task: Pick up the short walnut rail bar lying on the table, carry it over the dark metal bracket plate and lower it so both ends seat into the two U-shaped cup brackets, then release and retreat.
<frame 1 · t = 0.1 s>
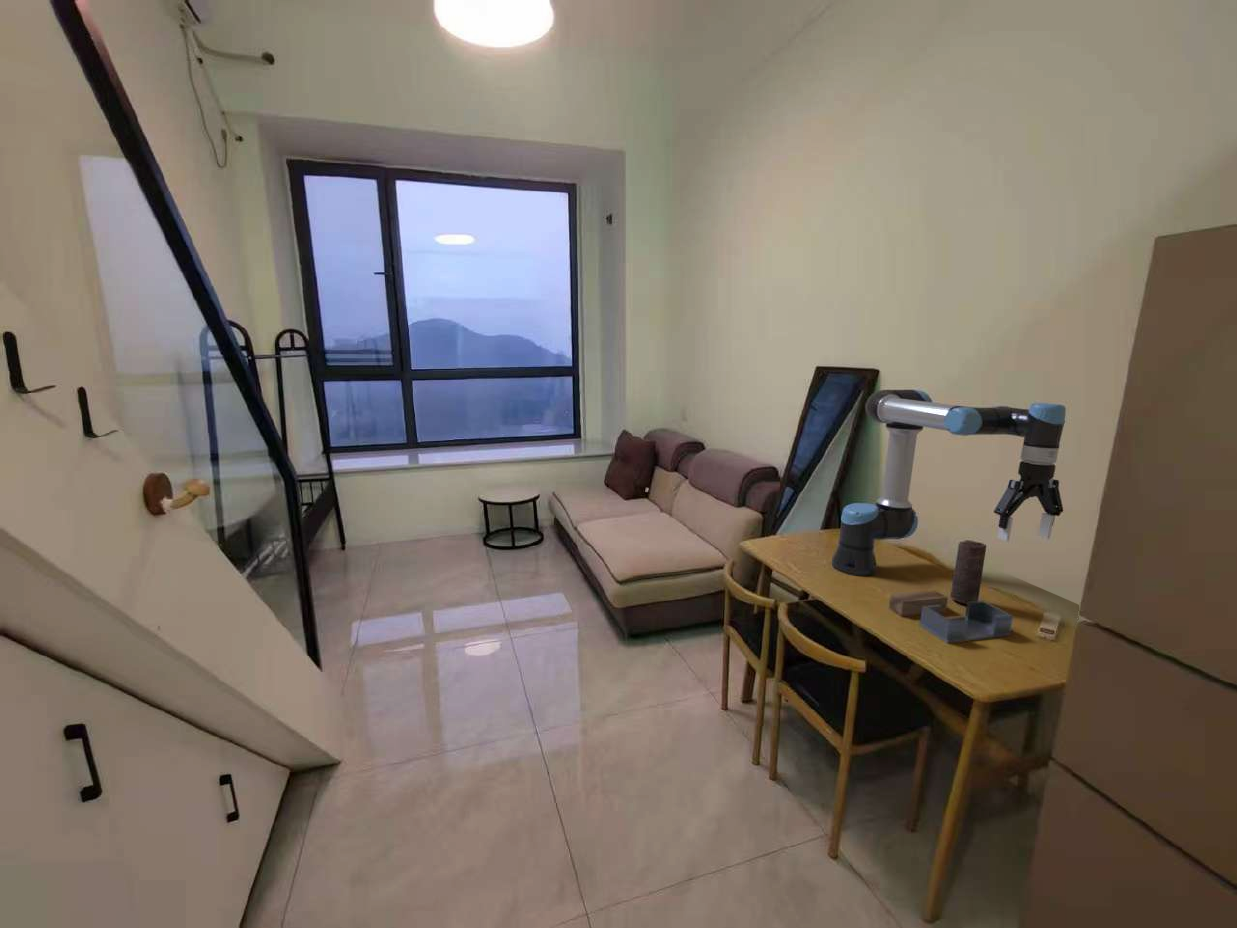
hand: (1023, 538, 144), 28 cm above the table, fingers open, 13 cm apart
bracket plate: (963, 630, 151), on the table
candle: (963, 602, 168), on the table
rail bar: (917, 611, 162), on the table
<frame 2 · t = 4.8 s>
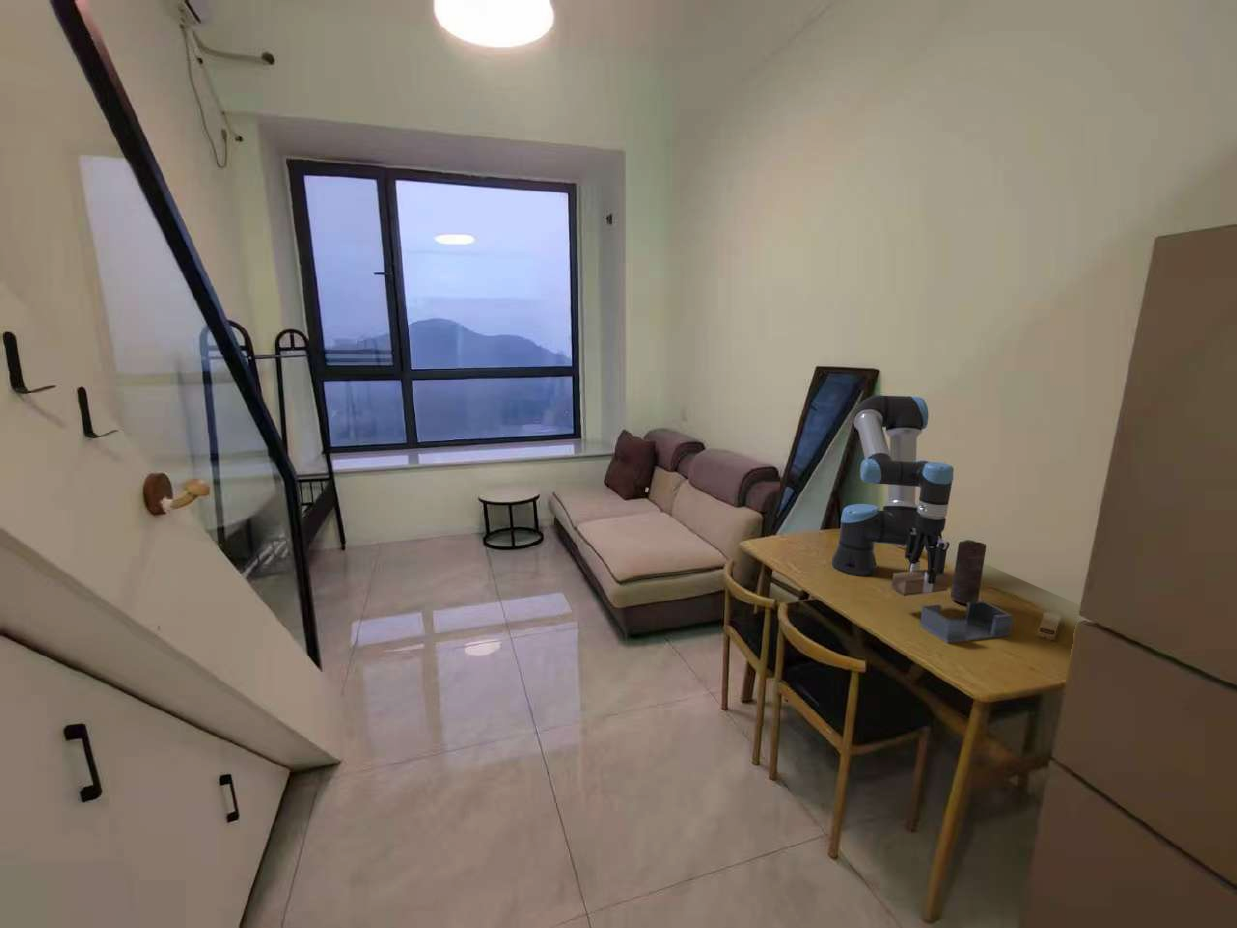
hand: (919, 587, 161), 7 cm above the table, fingers closed on rail bar, 5 cm apart
rail bar: (919, 589, 161), point 6 cm above the table, touching gripper
everything else where it was.
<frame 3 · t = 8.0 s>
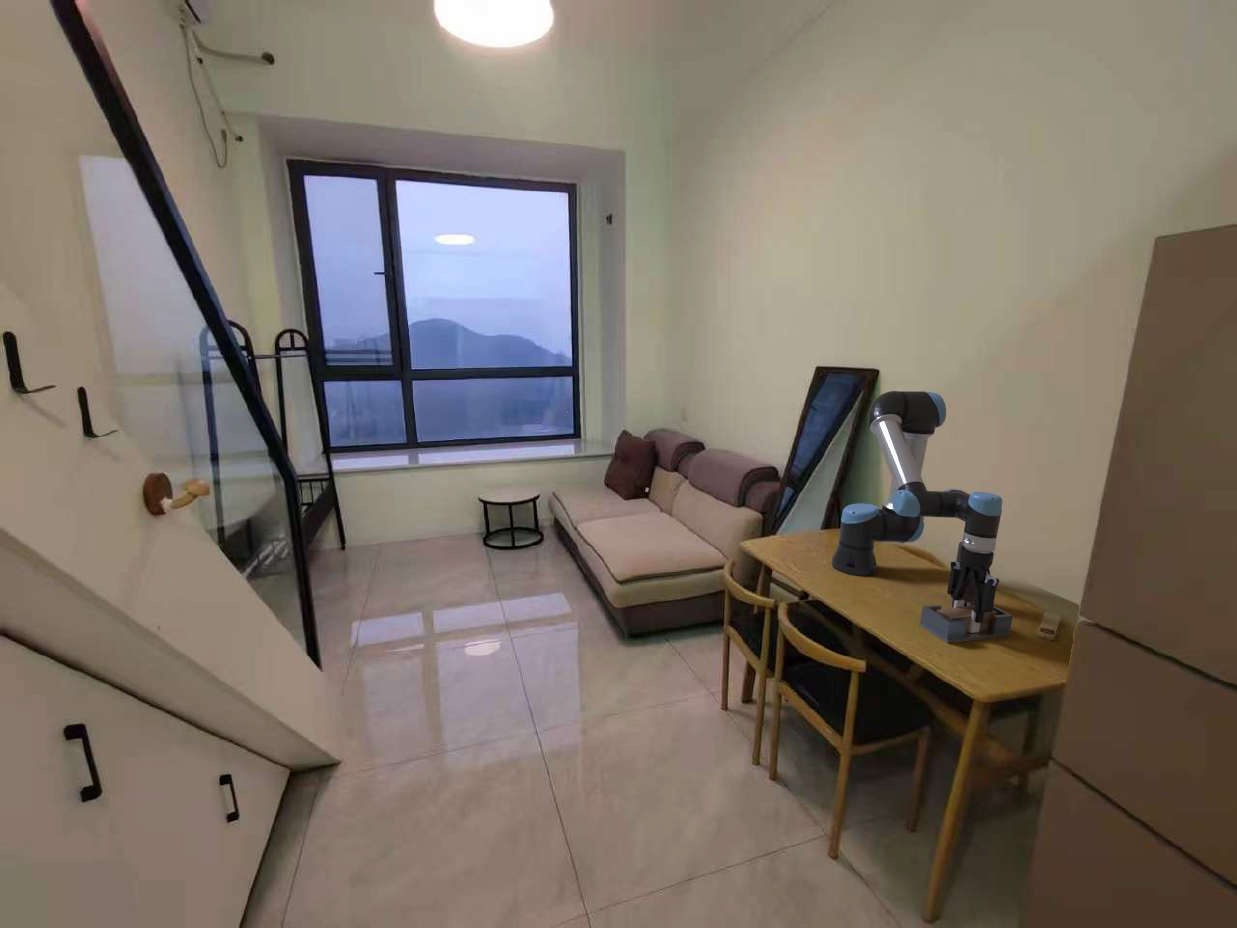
hand: (964, 626, 150), 1 cm above the table, fingers closed on rail bar, 5 cm apart
rail bar: (964, 627, 150), point 1 cm above the table, touching bracket plate, gripper
everything else where it was.
when the fingers open (1 cm above the table, at t = 8.1 s): rail bar stays where it is, resting on bracket plate.
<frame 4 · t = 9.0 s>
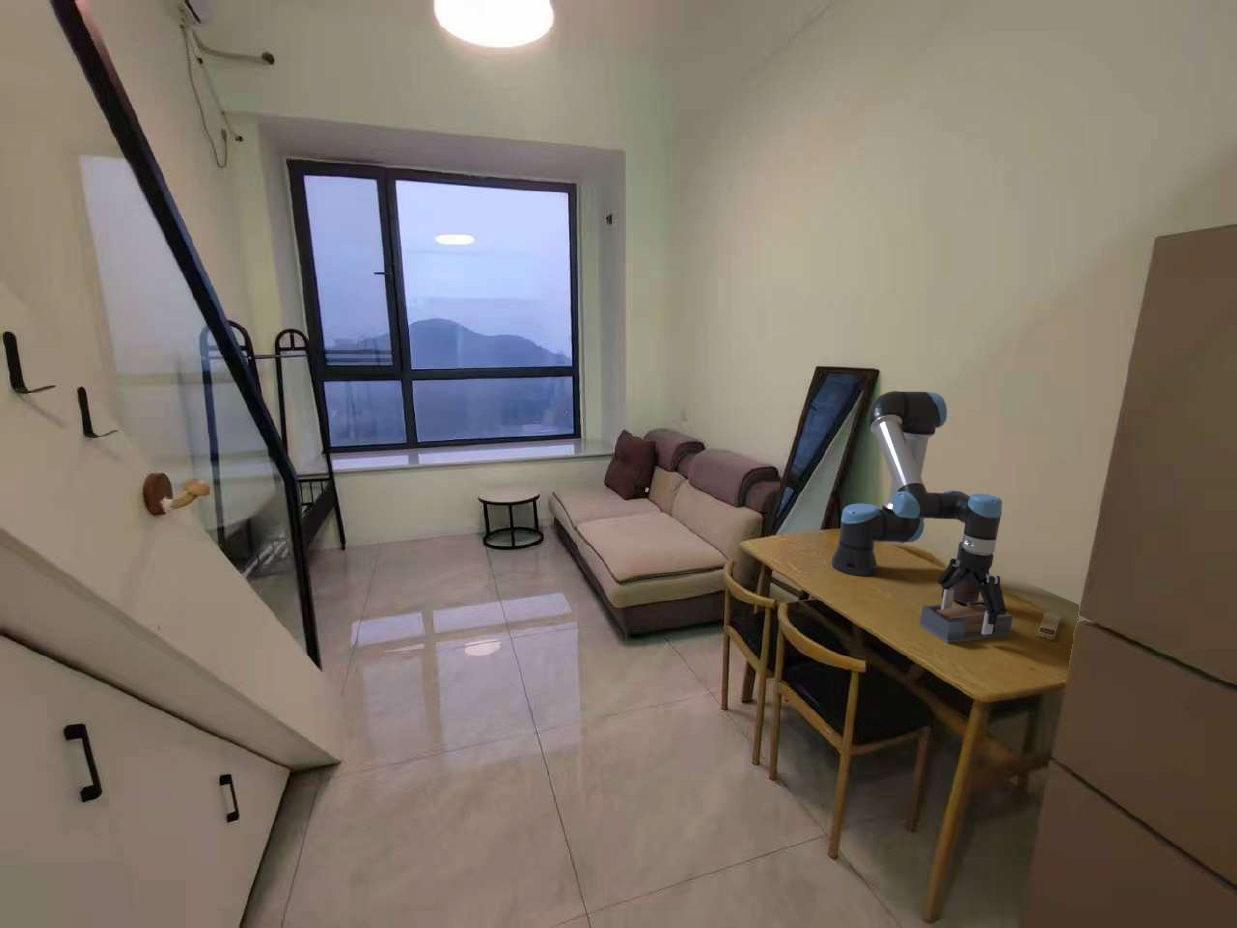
hand: (965, 621, 150), 3 cm above the table, fingers open, 13 cm apart
rail bar: (964, 627, 150), point 1 cm above the table, touching bracket plate
everything else where it was.
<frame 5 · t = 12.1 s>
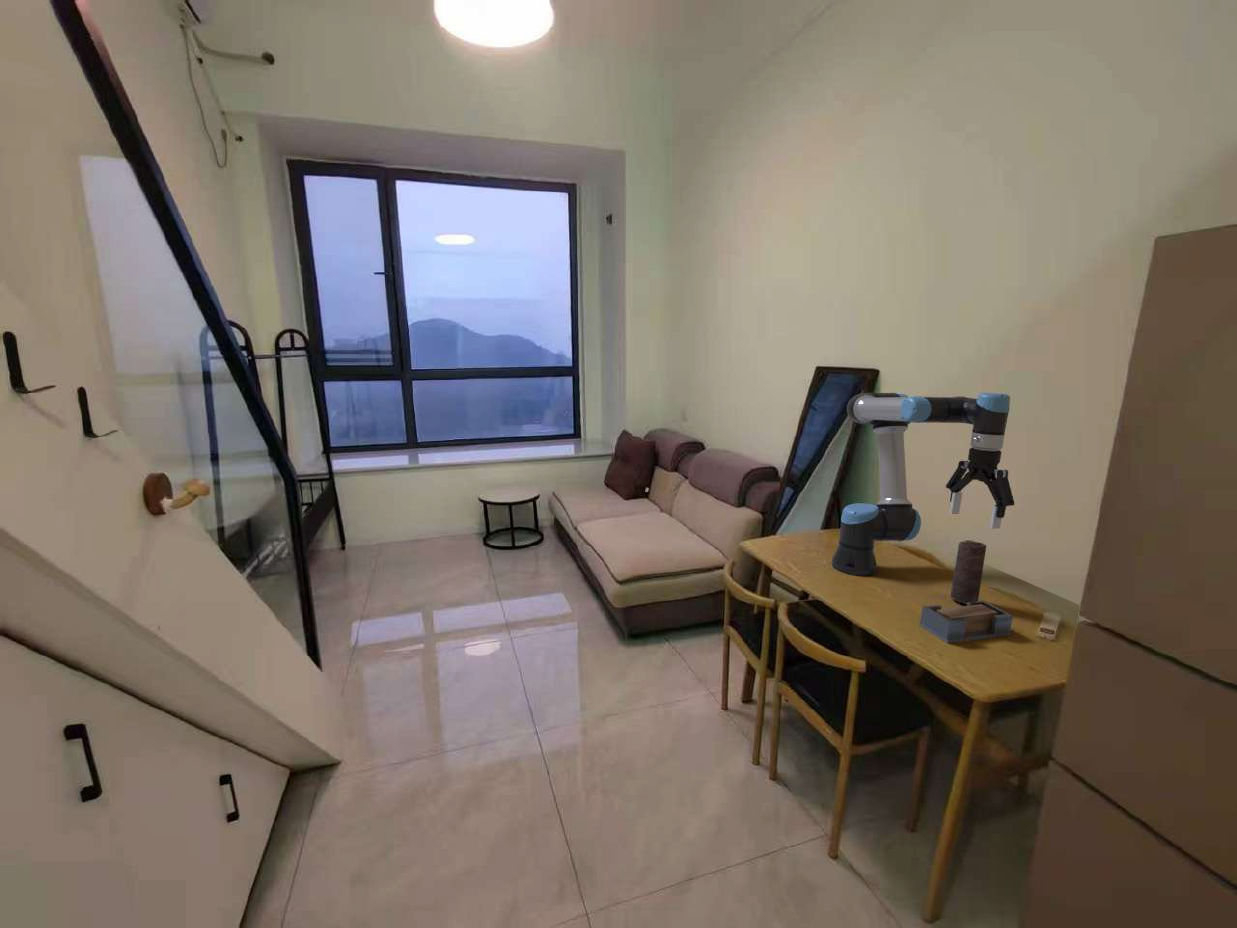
hand: (973, 520, 153), 30 cm above the table, fingers open, 13 cm apart
nothing on the table moved.
at the end: rail bar 0.2 cm off-centre on the bracket plate, point 1.0 cm above the bracket plate's base; rail bar point 1.0 cm above the table; the gripper is holding nothing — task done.
